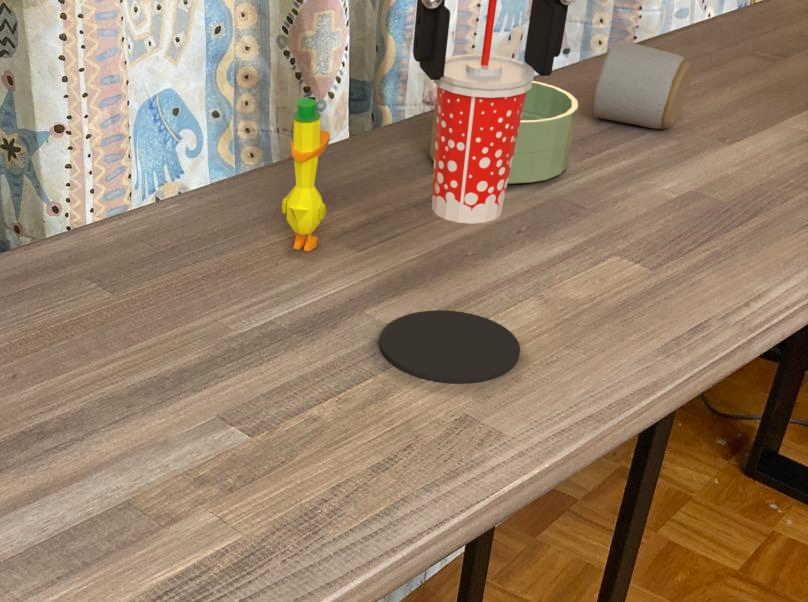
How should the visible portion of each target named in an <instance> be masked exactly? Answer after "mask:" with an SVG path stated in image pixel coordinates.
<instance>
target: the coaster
mask: <svg viewBox="0 0 808 602" xmlns="http://www.w3.org/2000/svg"><path fill="white" fill-rule="evenodd" d="M379 349H380V352H381V355H383V357H384V358H385V359H386V361H388V363H390V364H391V365H392V366H394V367H395V368H396V369H398V370H400V371H402V372H405V373H406V374H408V375H411V376H413V377H416V378H420V379H423V380H426V381H431V382H432V381H433V382H437V383H443V384H444V383H445V384H475V383H481V382H486V381H490V380H495V379H497V378H499V377H501V376H503V375H505V374H507V373H508V372H510V371H511V370H513V368H514V367H515V366H516V365H517V364H518V361H519V359H520V354H521V346H520V343H519V341H518V339H517V337H516V336H515V335H514V334H513V332H511V331H510V330H509V329H508V328H506V327H505V326H503V325H502V324H500V323H499V322H496V321H495V320H492V319H489V318H487V317H484V316H481V315H477V314H475V313H468V312H464V311H457V310H443V309H442V310H440V309H439V310H437V309H435V310H434V309H433V310H424V311H418V312H417V311H416V312H412V313H408V314H405V315H402V316H399V317H398V318H396V319H394V320H392V321H390V322H389V323H388V324H387V325H385V326H384V328H383V329H382V330H381V333H380V336H379Z"/></svg>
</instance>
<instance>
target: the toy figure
mask: <svg viewBox="0 0 808 602" xmlns="http://www.w3.org/2000/svg"><path fill="white" fill-rule="evenodd" d="M296 106H297V110H296V111H295V112H294V113H293V114H292V118H293V136H292V137H293V138H292V141H290V147H291V156H292V158H293V165H294V174H295V177H294V178H295V185H294V186H293V187H292V189H291V190H290V191H289V193H288V194H287V195H286V197H284V198H283V199H282V202H281V212H282V214H284V215H286V221H287V223H288V224H289V226H290V228H291V230H293V232H294V233H295V237H294V244H293V249H294V250H301V249H302V248H303V251H304V252H311V251H313V250H314V249H315V248H317V246H318V242H319V238H318V237H317V236H316V235H313V232H315V230H316V229H317V227H318V226H319V224H320V223H321V222H322V221H324V220H325V218H326V215H327V207H326V206H327V205H326V203H323V197H322V195H321V194H320V192H319V190H318V189H317V187H316V186H315V182H316V176H317V170H318V162H319V157H320V156H321V155H322V154H323V153H324V152H325V151H326V149H327V147H328V146H329V144H330V138H331V132H330V131H328V130H323V129H321V113H320V112H319V111H318V110H317V100H315V99H313V98H300V99H298V100H297V101H296Z"/></svg>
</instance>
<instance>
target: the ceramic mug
mask: <svg viewBox="0 0 808 602" xmlns="http://www.w3.org/2000/svg"><path fill="white" fill-rule="evenodd" d="M692 76H693V66H692V62H691V61H690V60H689V59H688V58H686V57H684V56H682V55H680V54H678V53H674V52H670V51H666V50H661V49H657V48H654V47H650V46H647V45H642V44H639V43H635V42H631V41H627V40H624V39H619V40H616V41H615V42H614V43H613V44H612V46H611V47H610V49H609V50H608V52H607V54H606V55H605V58H604V62H603V63H602V66H601V68H600V71H599V75H598V79H597V81H596V82H597V83H596V87H595V91H594V96H593V104H592V111H593V115H594V116H595V117H596V118H598V119H603V120H609V121H613V122H618V123H623V124H630V125H634V126H639V127H643V128H649V129H654V130H655V129H657V130H658V129H659V130H663V129H668V128H670V127H671V126H673V125H674V123H675V122H676V121H677V119H678V118H679V115H680V113H681V111H682V109H683V106H684V104H685V101H686V98H687V95H688V92H689V89H690V86H691V82H692V81H691V80H692Z"/></svg>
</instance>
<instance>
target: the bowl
mask: <svg viewBox="0 0 808 602" xmlns="http://www.w3.org/2000/svg"><path fill="white" fill-rule="evenodd" d="M436 102H437V93H436V95H435V99H434V108H433V109H434V110H433V117H432V118H433V120H432V127H431V128H432V129H431V138H430V147H429V148H430V149H429V156H430V159H431V160H432V161H433V162H434V148H435V125H436ZM578 112H579V100H578V99H577V98H576V97H575V96H574V95H573V94H572V93H571V92H568V91H566V90H564V89H563V88H560V87H557V86H555V85H551V84H548V83H544V82H540V81H537V80H536V81H535V80H532V82H531V89H529V90H528V91H527V92H526V97H525V102H524V107H523V111H522V116H521V121H520V126H519V130H518V135H517V140H516V145H515V149H514V154H513V159H512V164H511V168H510V173H509V178H508V183H507V185H515V184H516V185H517V184H528V183H529V184H530V183H537V182H542V181H546V180H547V181H548V180H550V179H552V178H554V177H557V176H559V175H561V174H562V173H563V172H564V171H565V170H566V169H567V168H568V166H569V162H570V156H571V150H572V144H573V138H574V134H575V128H576V122H577V117H578Z"/></svg>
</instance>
